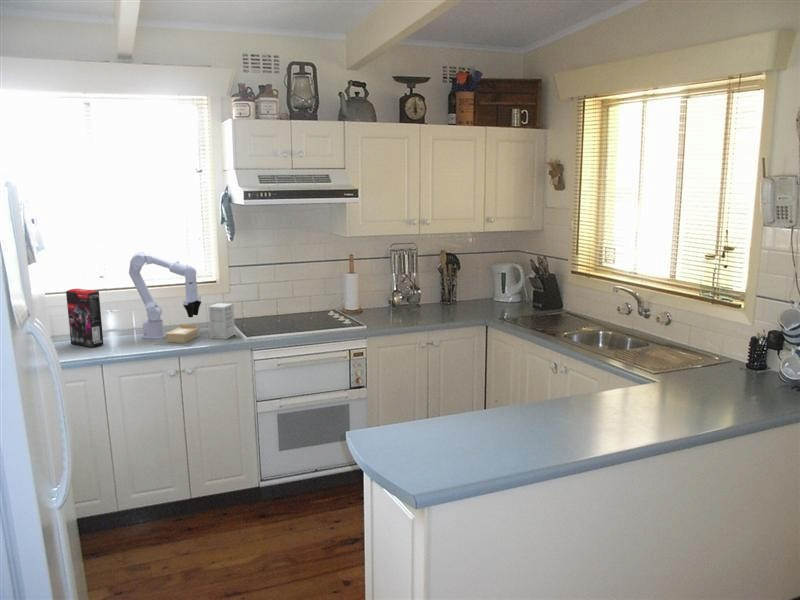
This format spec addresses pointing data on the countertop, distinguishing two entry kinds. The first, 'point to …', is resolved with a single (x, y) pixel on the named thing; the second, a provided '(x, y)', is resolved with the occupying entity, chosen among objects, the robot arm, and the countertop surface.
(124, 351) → the countertop surface
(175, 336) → the kraft box
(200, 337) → the slate mat
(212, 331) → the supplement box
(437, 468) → the countertop surface
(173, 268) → the robot arm
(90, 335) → the graphics card box
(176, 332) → the kraft lid
